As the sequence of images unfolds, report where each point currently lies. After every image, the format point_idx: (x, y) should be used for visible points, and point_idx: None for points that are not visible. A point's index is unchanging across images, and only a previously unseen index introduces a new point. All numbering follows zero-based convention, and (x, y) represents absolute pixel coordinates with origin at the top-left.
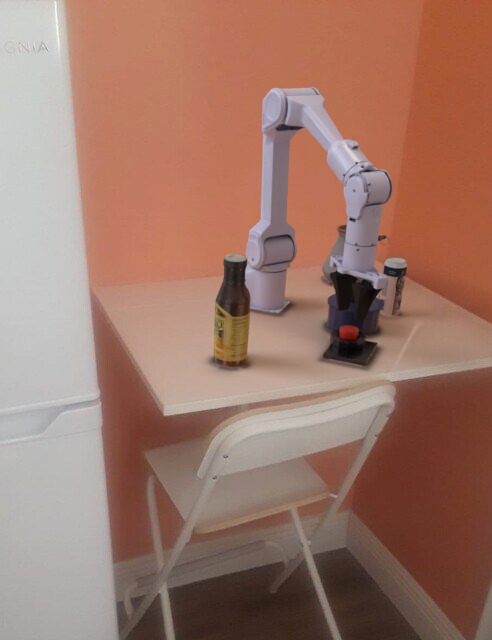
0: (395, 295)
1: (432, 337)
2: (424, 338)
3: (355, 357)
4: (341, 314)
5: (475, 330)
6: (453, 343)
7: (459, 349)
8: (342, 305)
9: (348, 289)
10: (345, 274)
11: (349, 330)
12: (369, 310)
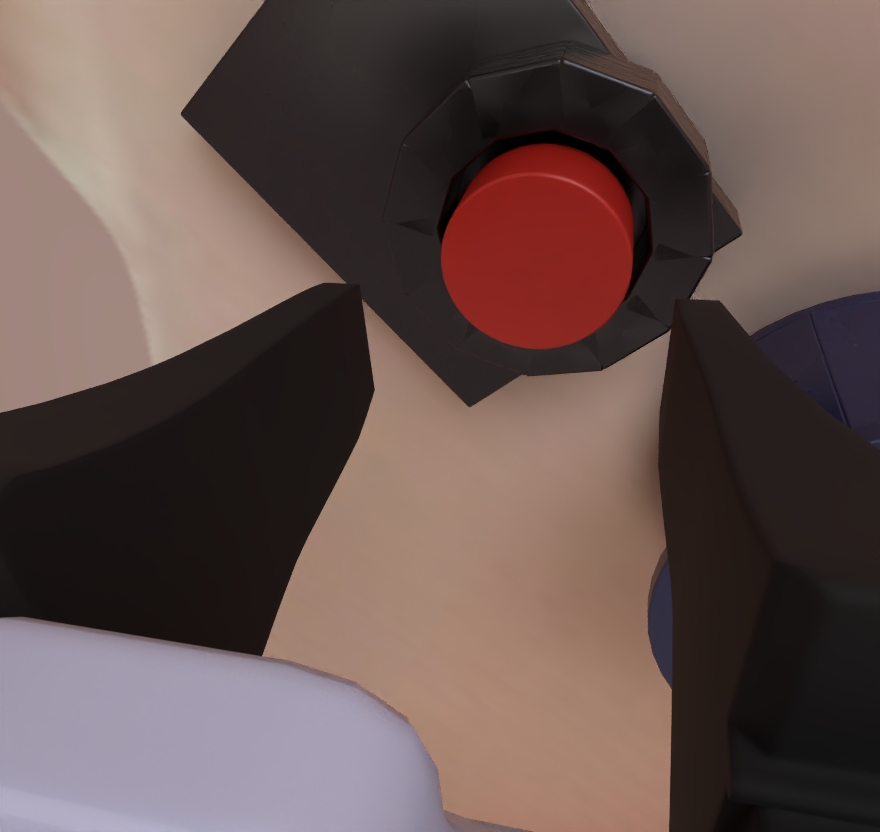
0: None
1: (498, 680)
2: (503, 652)
3: (271, 88)
4: (869, 413)
5: (491, 813)
6: (404, 691)
7: (339, 666)
8: (675, 366)
9: (683, 586)
10: (716, 806)
11: (491, 238)
12: (666, 595)
